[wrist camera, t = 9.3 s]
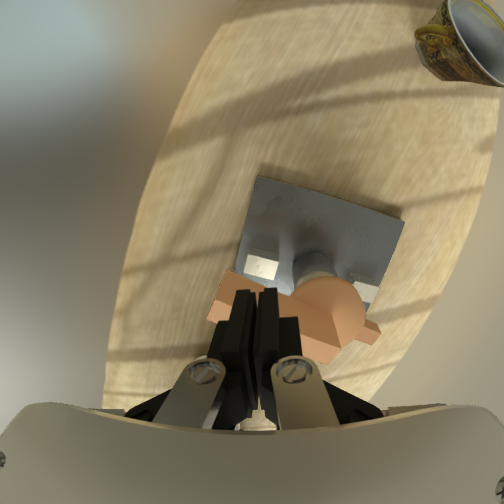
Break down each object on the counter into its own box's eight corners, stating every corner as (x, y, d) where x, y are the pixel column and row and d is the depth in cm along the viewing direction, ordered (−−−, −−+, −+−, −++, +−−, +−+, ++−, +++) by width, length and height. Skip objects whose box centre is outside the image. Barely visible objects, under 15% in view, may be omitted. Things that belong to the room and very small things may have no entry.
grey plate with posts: (348, 336, 32) (362, 382, 25) (225, 309, 32) (211, 356, 24) (400, 219, 26) (438, 245, 19) (257, 175, 26) (250, 186, 18)
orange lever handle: (392, 301, 21) (418, 343, 16) (352, 354, 23) (364, 399, 18) (243, 231, 20) (231, 264, 14) (211, 299, 22) (194, 345, 17)
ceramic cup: (451, 24, 16) (496, 1, 7) (478, 95, 19) (533, 91, 10) (366, 18, 18) (400, -24, 9) (398, 99, 22) (452, 84, 12)
